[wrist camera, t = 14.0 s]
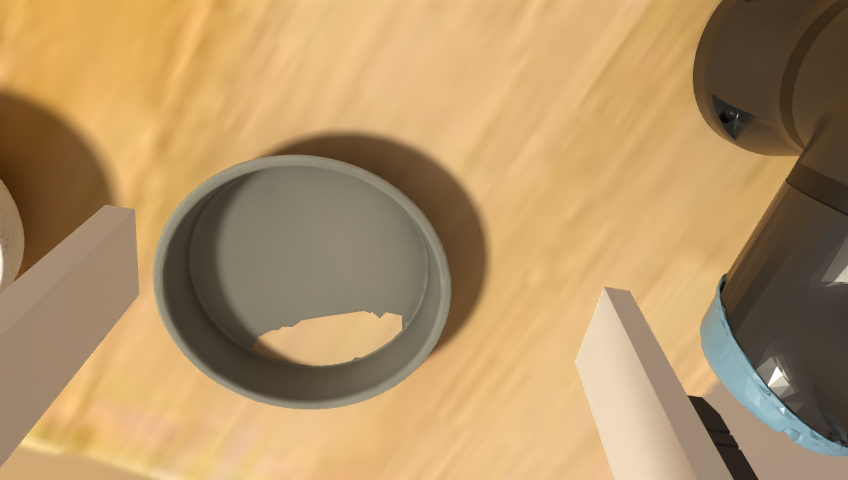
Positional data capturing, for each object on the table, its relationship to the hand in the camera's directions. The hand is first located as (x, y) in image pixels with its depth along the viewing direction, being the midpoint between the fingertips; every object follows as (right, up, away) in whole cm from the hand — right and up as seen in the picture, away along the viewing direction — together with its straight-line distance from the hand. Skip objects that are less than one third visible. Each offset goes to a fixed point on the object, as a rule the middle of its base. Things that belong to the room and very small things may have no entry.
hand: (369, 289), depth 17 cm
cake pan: (-9, -1, +36) cm, 38 cm away
